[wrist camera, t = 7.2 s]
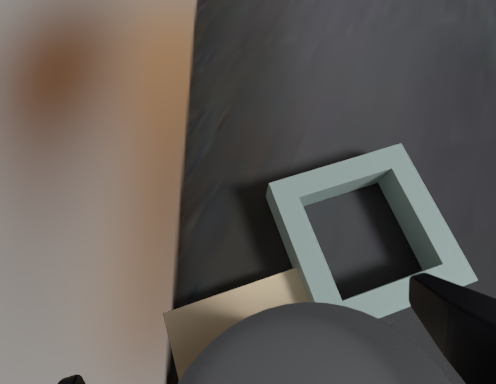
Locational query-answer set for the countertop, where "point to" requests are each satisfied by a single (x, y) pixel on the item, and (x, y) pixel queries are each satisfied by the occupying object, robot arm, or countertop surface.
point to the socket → (404, 208)
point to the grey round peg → (312, 350)
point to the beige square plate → (226, 313)
